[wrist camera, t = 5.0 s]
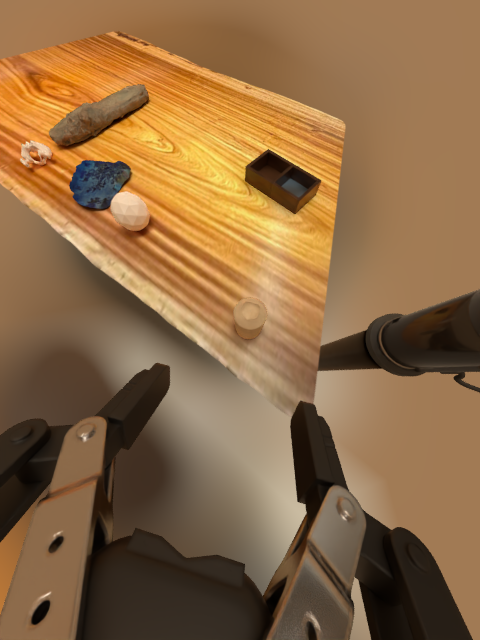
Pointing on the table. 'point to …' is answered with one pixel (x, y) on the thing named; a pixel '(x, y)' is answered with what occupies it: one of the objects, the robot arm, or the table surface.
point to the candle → (249, 317)
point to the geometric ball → (130, 211)
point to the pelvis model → (34, 147)
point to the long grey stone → (97, 115)
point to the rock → (98, 182)
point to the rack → (282, 180)
